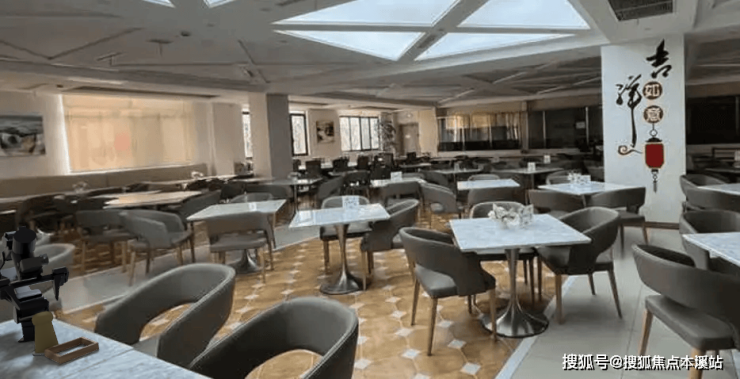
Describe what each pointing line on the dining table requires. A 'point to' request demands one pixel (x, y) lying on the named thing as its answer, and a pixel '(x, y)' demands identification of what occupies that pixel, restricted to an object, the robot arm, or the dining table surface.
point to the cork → (44, 331)
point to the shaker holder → (69, 356)
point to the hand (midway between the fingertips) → (39, 304)
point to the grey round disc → (38, 353)
